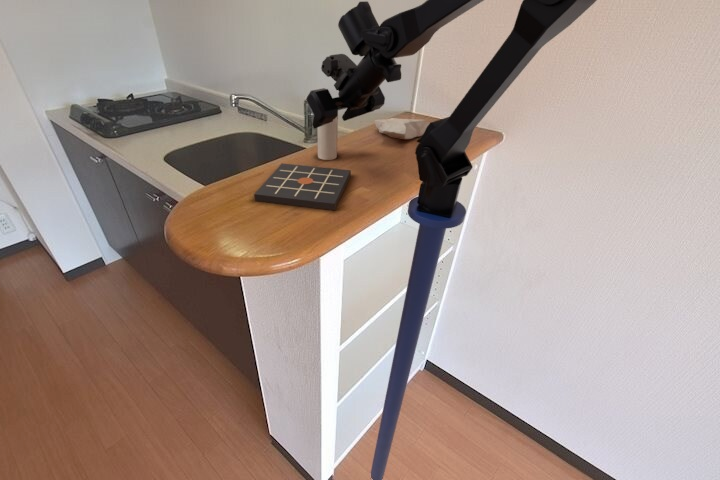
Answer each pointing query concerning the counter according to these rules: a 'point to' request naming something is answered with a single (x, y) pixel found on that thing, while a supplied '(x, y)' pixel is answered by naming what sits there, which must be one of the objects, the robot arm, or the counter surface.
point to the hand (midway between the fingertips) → (328, 122)
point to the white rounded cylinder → (327, 140)
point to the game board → (304, 186)
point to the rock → (402, 127)
